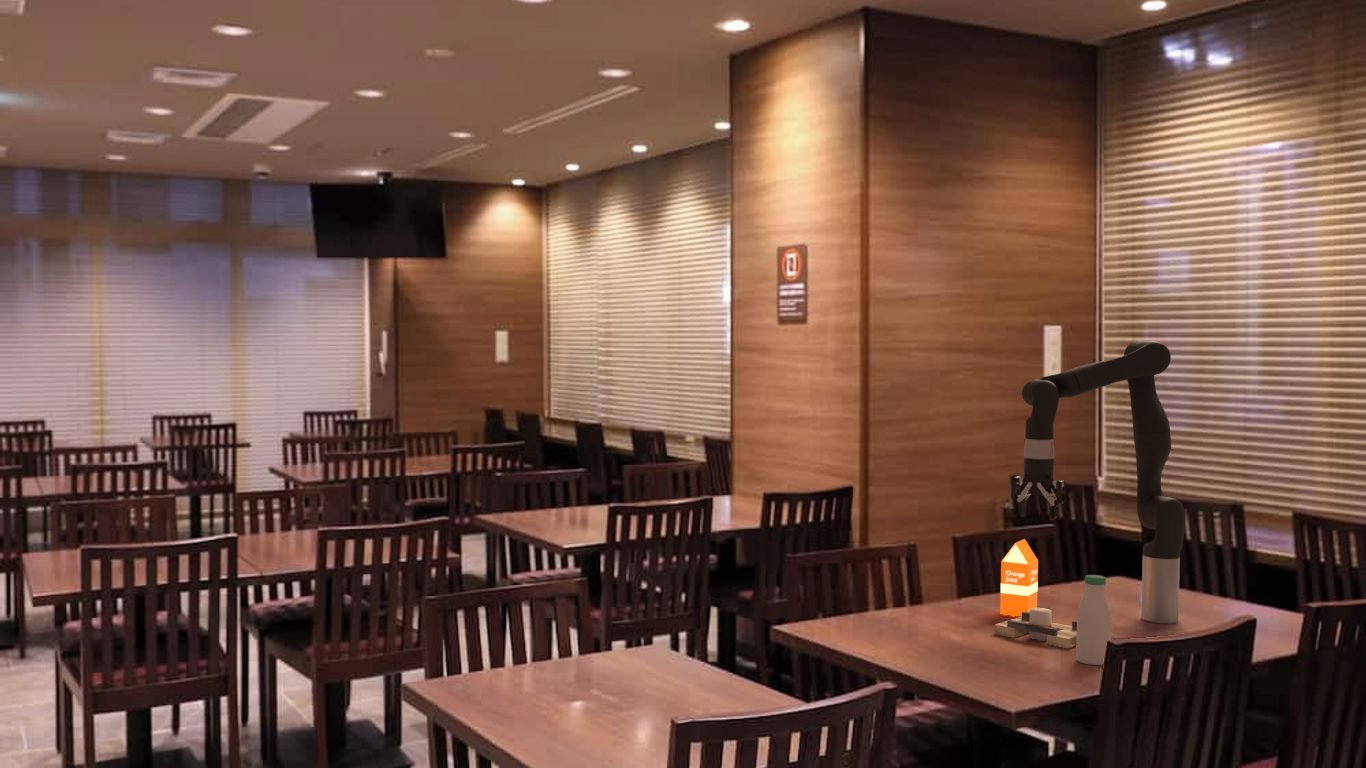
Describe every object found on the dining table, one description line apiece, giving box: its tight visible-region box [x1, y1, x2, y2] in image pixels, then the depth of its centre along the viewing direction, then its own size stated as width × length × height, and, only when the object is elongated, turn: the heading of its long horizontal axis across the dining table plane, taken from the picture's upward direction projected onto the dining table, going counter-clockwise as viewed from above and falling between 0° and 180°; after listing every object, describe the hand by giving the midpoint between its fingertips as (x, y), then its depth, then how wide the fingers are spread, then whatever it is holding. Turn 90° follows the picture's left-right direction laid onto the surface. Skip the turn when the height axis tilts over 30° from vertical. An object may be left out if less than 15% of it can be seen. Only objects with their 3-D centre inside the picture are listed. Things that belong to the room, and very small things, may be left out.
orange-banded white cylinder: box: [1028, 607, 1053, 641], centre depth 304 cm, size 5×5×7 cm
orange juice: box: [999, 538, 1039, 617], centre depth 331 cm, size 8×9×20 cm
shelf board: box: [994, 611, 1077, 649], centre depth 305 cm, size 13×20×4 cm, turn 45°
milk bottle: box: [1075, 574, 1113, 666], centre depth 281 cm, size 8×8×20 cm
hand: (1037, 518), depth 317 cm, fingers open, 8 cm apart
